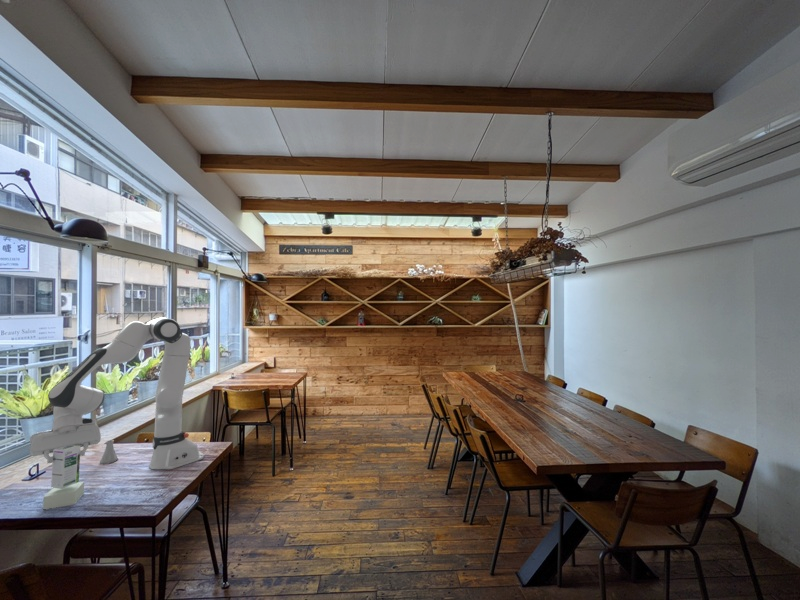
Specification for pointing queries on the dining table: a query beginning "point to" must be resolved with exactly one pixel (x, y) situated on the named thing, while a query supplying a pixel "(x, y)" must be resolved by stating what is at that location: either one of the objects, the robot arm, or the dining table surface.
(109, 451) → the flask
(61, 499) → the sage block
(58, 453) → the syrup box
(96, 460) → the dining table surface
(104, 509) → the dining table surface
